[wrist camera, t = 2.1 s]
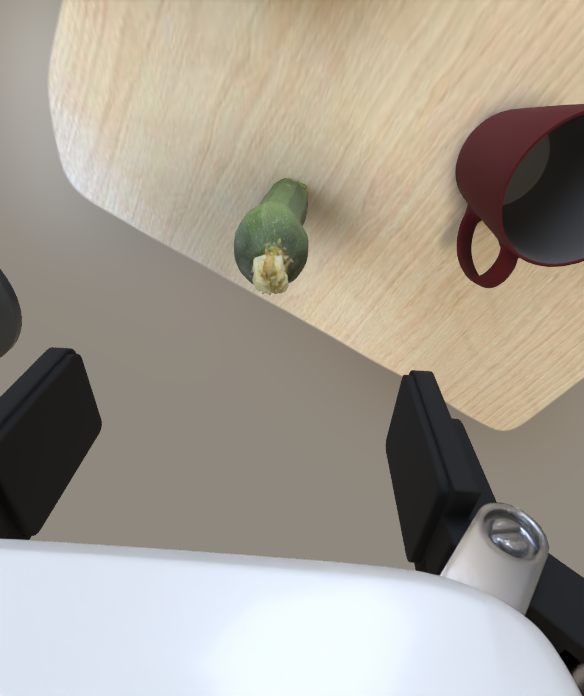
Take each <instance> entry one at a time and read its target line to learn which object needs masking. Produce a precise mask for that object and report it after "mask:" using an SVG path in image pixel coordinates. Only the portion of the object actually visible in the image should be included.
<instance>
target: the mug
mask: <svg viewBox="0 0 584 696" xmlns="http://www.w3.org/2000/svg"><path fill="white" fill-rule="evenodd" d="M456 181H457V185H458V188H459V191H460V193H461V194H462V196H463V197H464V199H465V200H466V201H467V202H468V206H467V209H466V212H465V215H464V217H463V219H462V221H461V224H460V227H459V231H458V236H457V256H458V260H459V263H460V266H461V268H462V270H463V272H464V273H465V275H466V276H467V277H468V278H469V279H470V280H471V281H473V282H474V283H476V284H478V285H480V286H482V287H485V288H493V287H496V286H498V285H500V284H501V283H502V282H504V281H505V280H506V279H507V278H508V277H509V275H510V274H511V273H512V271H513V270H514V268H515V266H516V263H517V259H518V258H521V259H523V260H525V261H527V262H529V263H532V264H535V265H540V266H546V267H557V266H566V265H571V264H576V263H579V262H582V261H584V104H576V105H559V106H546V107H534V108H523V109H513V110H508V111H504V112H501V113H498V114H496V115H494V116H492V117H490V118H488V119H487V120H485V121H484V122H483V123H481V124H480V125H479V126H478V127H477V128H476V129H475V130H474V131H473V132H472V133H471V134H470V136H469V137H468V138H467V140H466V142H465V143H464V145H463V147H462V149H461V151H460V154H459V157H458V160H457V164H456ZM480 221H483V222H484V223H485V224H486V225H487V226H488V228H489V229H490V230H491V231H492V232H493V234H494V235H495V236H496V238H497V239H498V241H499V245H500V247H501V250H500V253H499V256H498V258H497V260H496V261H495V263H494V264H493V265H492V267H491V268H490V269H489V270H488V271H487V272H485V273H484V274H482V275H480V276H479V275H478V273H477V271H476V269H475V267H474V264H473V260H472V254H471V244H472V238H473V233H474V230H475V227H476V225H477V223H478V222H480Z"/></svg>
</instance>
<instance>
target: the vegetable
mask: <svg viewBox="0 0 584 696" xmlns="http://www.w3.org/2000/svg"><path fill="white" fill-rule="evenodd" d="M307 199H308V192H307V191H306V185H304V184H301V183H299V182H296V181H293V180H291V179H282V180H280V181H279V182H277V183H276V184H274V186H273V187H272V188H271V190H270V191H269V192H268V193H267V194H266V196H265V197H264V198H263V200H262V201H261V203H260V205H259V206H258V207H256V208H254V209H252V210H251V211H250V212H249V213H248V214H247V215H246V216H245V217H244V218H243V220H242V221H241V223H240V225H239V227H238V229H237V231H236V233H235V239H234V255H235V260H236V263H237V265H238V268H239V270H240V271H241V273H242V274H243V275H244V276H245V277H246V278H247V279H248V280H249V281H250V282H251V283H252V284H254V285H255V288H256V289H258V290H259V291H262V294H264V293H265V292H266V293H267V294H269V295H270V294H271V292H272V293H275V294H277V293H282V292H285V291H286V290H287V288H288V283H290V282H292V281H293V280H295V279H296V278H297V276H298V275H299V274H300V272H301V271H302V269H303V268H304V266H305V264H306V261H307V257H308V236H307V234H306V232H305V230H304V228H303V224H304V222H305V219H306V214H307V206H308V201H307Z"/></svg>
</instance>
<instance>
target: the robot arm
mask: <svg viewBox="0 0 584 696" xmlns="http://www.w3.org/2000/svg"><path fill="white" fill-rule="evenodd" d="M101 426H102V421H101V418H100V415H99V412H98V408H97V405H96V402H95V398H94V395H93V392H92V389H91V386H90V383H89V380H88V376H87V373H86V370H85V367H84V363H83V360H82V358H81V356H80V355H79V354H76V352H75V351H74V350H73V349H68V348H53V347H52V348H49V349H48V350H46V352H45V353H43V355H42V356H41V357H39V358H38V359H37V361H35V363H34V364H33V365H32V366H31V367H30V368H29V369H28V370H27V371H26V372H25V373H24V374H23V375H22V376H21V377H20V378H19V379H18V380H17V381H16V382H15V383H14V384H13V385H12V386H11V387H10V388H9V389H8V390H7V391H6V392H5V393H4V394H3V395H2V396H1V397H0V696H584V578H583V577H581V576H580V575H579V574H577V573H576V572H574V571H573V570H572V569H570V568H569V567H567V566H566V565H565V564H563V563H562V562H560V561H559V560H558V559H556V558H555V557H553V556H552V555H550V554H549V553H548V551H549V545H548V541H547V537H546V535H545V534H544V532H543V530H542V528H541V527H540V526H539V525H538V524H537V523H536V521H535V520H534V519H533V518H532V517H530V516H529V515H528V514H526V513H525V512H524V511H522V510H520V509H518V508H516V507H514V506H512V505H508V504H504V503H497V502H496V500H495V497H494V495H493V493H492V491H491V488H490V486H489V483H488V481H487V479H486V477H485V474H484V472H483V470H482V468H481V465H480V463H479V460H478V458H477V456H476V453H475V451H474V449H473V447H472V444H471V442H470V439H469V437H468V435H467V433H466V430H465V428H464V426H463V424H462V422H461V421H460V420H459V419H452V418H451V416H450V414H449V411H448V409H447V406H446V404H445V401H444V399H443V396H442V394H441V391H440V389H439V386H438V384H437V381H436V379H435V377H434V374H433V373H432V372H431V371H415V370H412V371H410V373H409V375H403V377H402V381H401V385H400V388H399V392H398V396H397V400H396V404H395V408H394V412H393V416H392V420H391V423H390V427H389V431H388V435H387V439H386V453H387V458H388V463H389V469H390V474H391V479H392V484H393V490H394V495H395V500H396V505H397V510H398V515H399V521H400V526H401V531H402V536H403V541H404V546H405V552H406V556H407V559H408V561H409V562H414V564H415V569H416V571H414V570H407V569H400V568H393V567H384V566H373V565H363V564H351V563H341V562H329V561H317V560H305V559H292V558H278V557H264V556H251V555H239V554H225V553H211V552H197V551H182V550H169V549H154V548H140V547H125V546H110V545H94V544H80V543H64V542H49V541H34V540H29V539H30V538H31V536H34V535H36V534H37V533H38V532H39V531H40V530H41V528H42V526H43V525H44V523H45V521H46V520H47V518H48V516H49V515H50V513H51V511H52V510H53V508H54V507H55V505H56V503H57V502H58V500H59V498H60V497H61V495H62V494H63V492H64V490H65V489H66V487H67V485H68V484H69V482H70V480H71V479H72V477H73V475H74V474H75V472H76V470H77V469H78V467H79V466H80V464H81V462H82V461H83V459H84V457H85V456H86V454H87V452H88V451H89V449H90V447H91V446H92V444H93V443H94V441H95V439H96V438H97V436H98V434H99V433H100V430H101Z"/></svg>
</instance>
